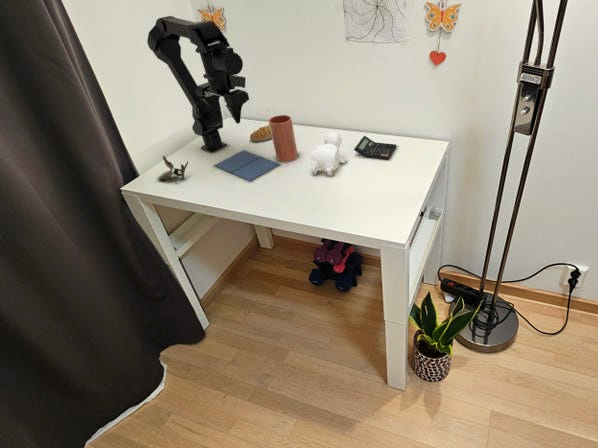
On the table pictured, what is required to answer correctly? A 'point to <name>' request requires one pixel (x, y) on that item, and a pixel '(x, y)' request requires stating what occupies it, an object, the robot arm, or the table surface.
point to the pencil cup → (283, 138)
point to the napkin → (247, 165)
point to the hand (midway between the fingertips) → (229, 120)
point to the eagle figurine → (172, 170)
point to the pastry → (261, 134)
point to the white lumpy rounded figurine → (327, 154)
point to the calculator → (375, 149)
